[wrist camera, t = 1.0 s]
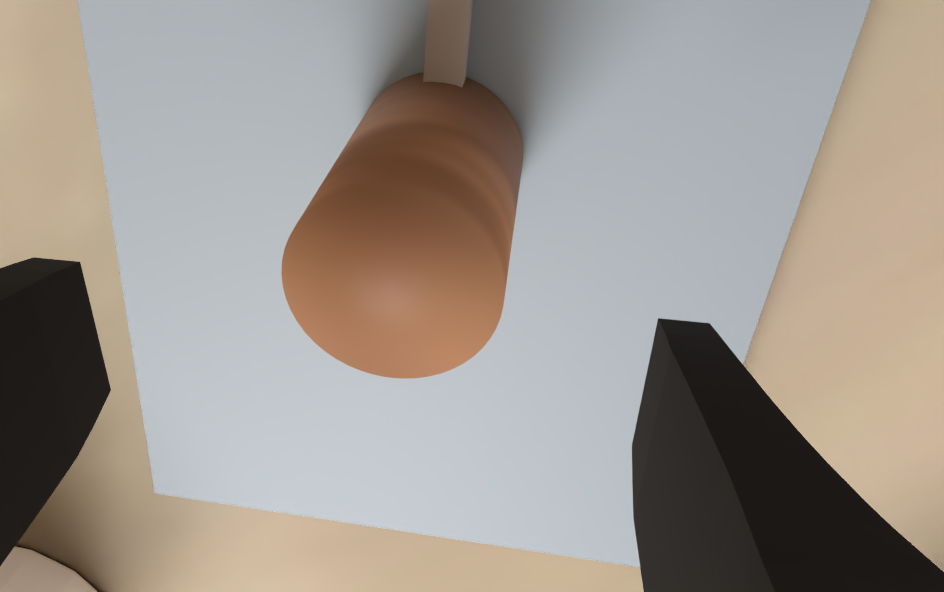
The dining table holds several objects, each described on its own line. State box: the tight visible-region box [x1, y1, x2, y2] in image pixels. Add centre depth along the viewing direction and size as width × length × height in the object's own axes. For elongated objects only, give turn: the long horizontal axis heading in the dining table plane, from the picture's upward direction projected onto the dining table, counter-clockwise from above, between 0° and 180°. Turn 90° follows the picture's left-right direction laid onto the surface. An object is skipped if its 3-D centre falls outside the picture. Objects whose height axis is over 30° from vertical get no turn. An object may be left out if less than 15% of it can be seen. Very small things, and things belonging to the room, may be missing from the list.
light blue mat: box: [77, 0, 871, 567], centre depth 14 cm, size 14×27×4 cm, turn 174°
